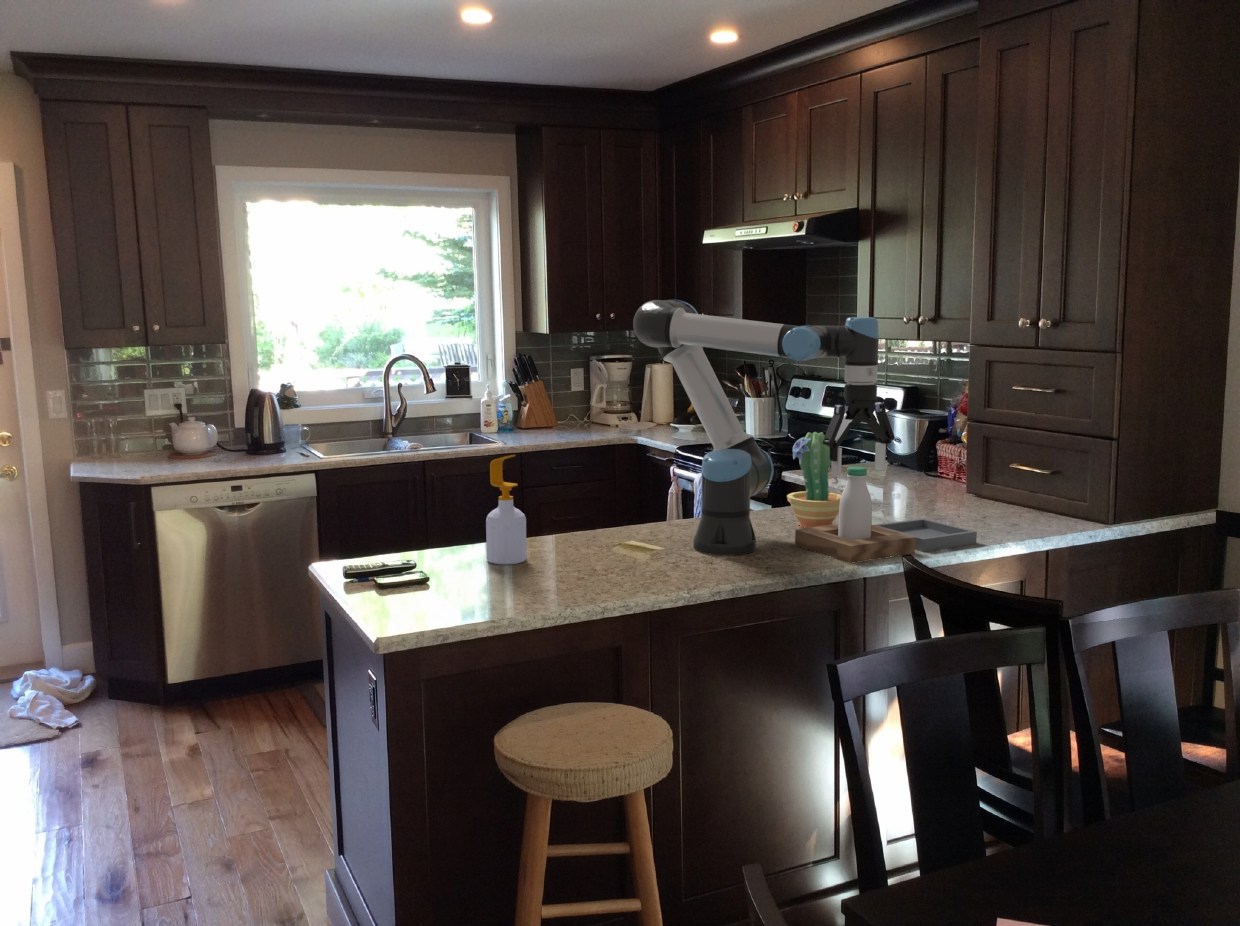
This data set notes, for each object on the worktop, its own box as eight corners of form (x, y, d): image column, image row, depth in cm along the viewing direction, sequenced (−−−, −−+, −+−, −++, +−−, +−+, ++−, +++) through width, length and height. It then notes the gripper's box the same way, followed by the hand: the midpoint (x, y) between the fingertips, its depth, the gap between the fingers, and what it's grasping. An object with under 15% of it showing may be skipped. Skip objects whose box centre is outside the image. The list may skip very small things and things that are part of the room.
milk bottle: (870, 553, 250) (874, 470, 247) (837, 552, 251) (840, 469, 248) (869, 546, 257) (873, 465, 254) (837, 545, 259) (840, 464, 256)
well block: (849, 563, 241) (850, 546, 240) (795, 545, 258) (795, 529, 257) (914, 553, 250) (915, 536, 250) (857, 536, 268) (858, 521, 267)
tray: (922, 551, 252) (923, 539, 252) (870, 536, 268) (871, 525, 267) (976, 543, 261) (976, 531, 260) (922, 529, 276) (923, 518, 276)
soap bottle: (510, 567, 236) (508, 458, 232) (478, 561, 241) (476, 455, 237) (534, 558, 244) (533, 453, 240) (503, 553, 248) (501, 450, 245)
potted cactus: (786, 518, 289) (789, 428, 286) (844, 521, 287) (847, 429, 283) (785, 530, 274) (787, 435, 270) (845, 533, 272) (849, 437, 268)
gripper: (829, 386, 239) (827, 479, 242) (911, 382, 251) (908, 470, 254) (808, 384, 245) (806, 474, 248) (889, 380, 257) (886, 466, 260)
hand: (858, 472), depth 251 cm, fingers open, 13 cm apart
